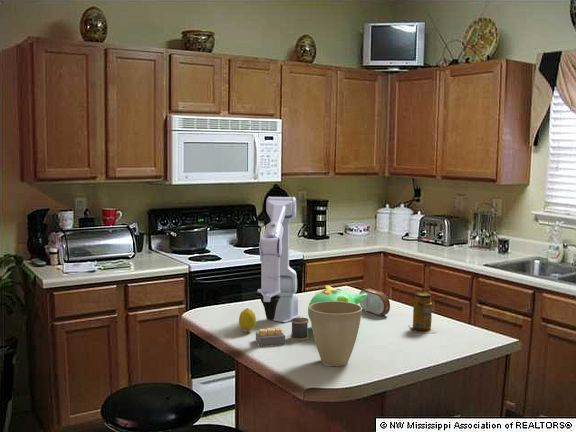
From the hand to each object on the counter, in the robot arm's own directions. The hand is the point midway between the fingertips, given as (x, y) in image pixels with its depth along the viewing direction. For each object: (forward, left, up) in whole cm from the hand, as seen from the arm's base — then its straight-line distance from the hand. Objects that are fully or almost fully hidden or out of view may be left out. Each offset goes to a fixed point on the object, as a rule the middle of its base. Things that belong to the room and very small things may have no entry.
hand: (270, 319), depth 191 cm
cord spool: (-9, +5, -8) cm, 13 cm away
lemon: (-4, -13, -8) cm, 15 cm away
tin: (-51, +9, -8) cm, 52 cm away
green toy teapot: (-23, +9, -8) cm, 26 cm away
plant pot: (+3, +25, -8) cm, 27 cm away
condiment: (-42, +32, -8) cm, 53 cm away
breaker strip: (0, 0, -8) cm, 8 cm away
